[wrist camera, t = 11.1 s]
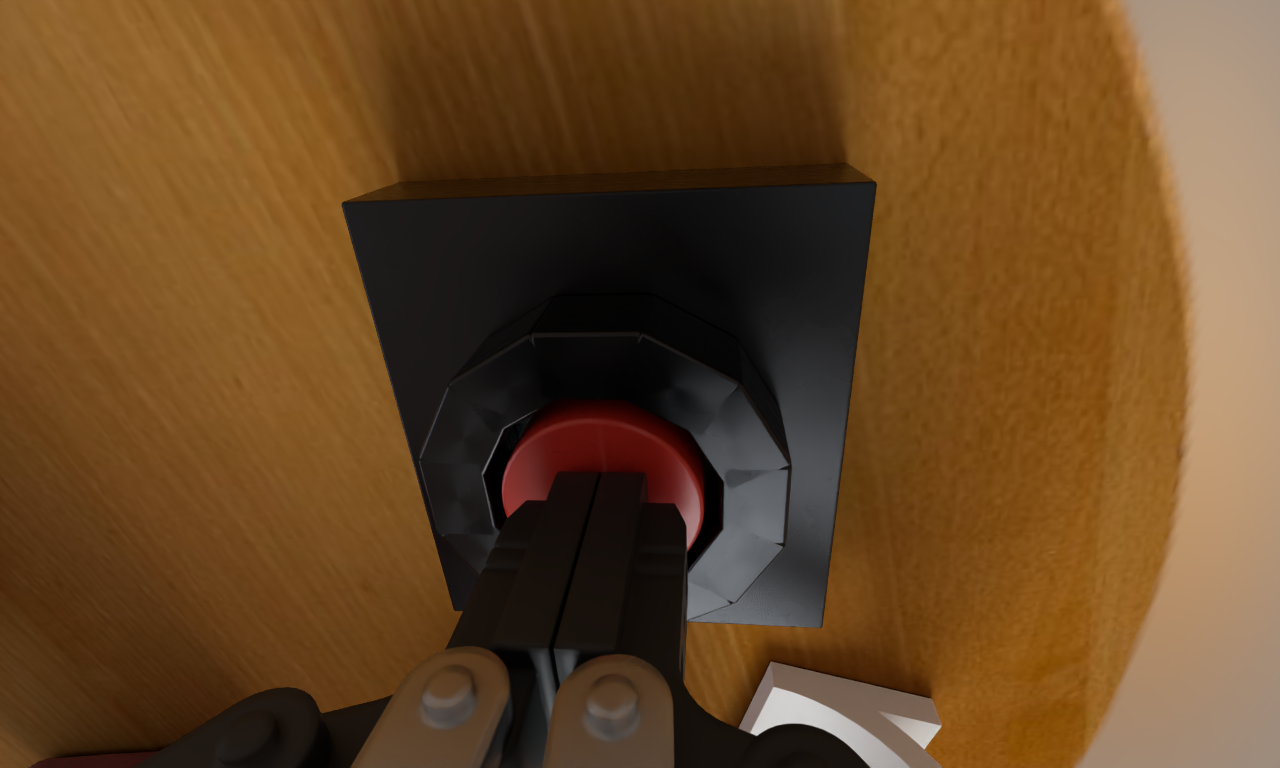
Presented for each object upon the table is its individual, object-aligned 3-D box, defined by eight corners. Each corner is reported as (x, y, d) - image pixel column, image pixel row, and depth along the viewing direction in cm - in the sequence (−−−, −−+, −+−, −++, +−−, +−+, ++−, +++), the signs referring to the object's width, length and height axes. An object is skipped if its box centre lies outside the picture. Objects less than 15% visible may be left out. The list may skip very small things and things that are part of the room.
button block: (397, 181, 12) (272, 225, 9) (849, 162, 11) (912, 203, 8) (483, 549, 17) (422, 675, 13) (809, 560, 16) (837, 700, 12)
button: (514, 371, 11) (483, 419, 10) (704, 371, 11) (704, 420, 9) (539, 519, 13) (516, 580, 11) (705, 524, 13) (704, 587, 11)
